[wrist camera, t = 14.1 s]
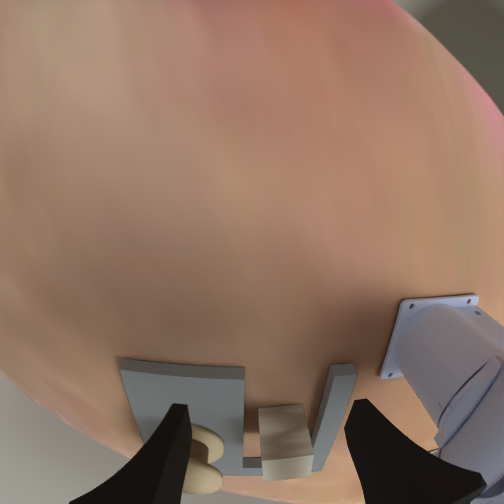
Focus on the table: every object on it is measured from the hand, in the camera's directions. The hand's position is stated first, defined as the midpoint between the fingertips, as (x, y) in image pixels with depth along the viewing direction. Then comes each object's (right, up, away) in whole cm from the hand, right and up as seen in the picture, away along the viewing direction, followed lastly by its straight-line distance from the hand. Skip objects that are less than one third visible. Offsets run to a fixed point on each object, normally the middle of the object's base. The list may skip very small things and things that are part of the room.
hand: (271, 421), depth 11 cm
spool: (-7, -11, +12) cm, 17 cm away
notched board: (-2, -10, +13) cm, 16 cm away
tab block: (+2, -8, +13) cm, 16 cm away
